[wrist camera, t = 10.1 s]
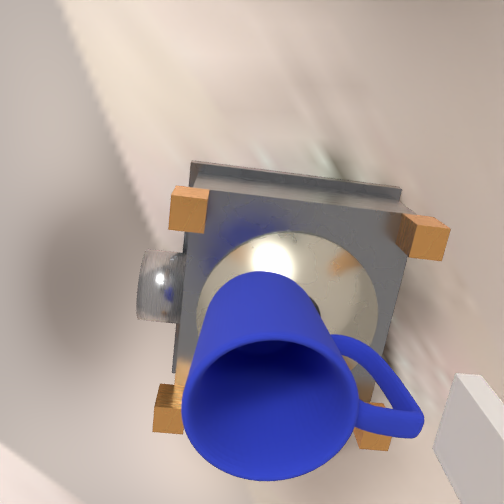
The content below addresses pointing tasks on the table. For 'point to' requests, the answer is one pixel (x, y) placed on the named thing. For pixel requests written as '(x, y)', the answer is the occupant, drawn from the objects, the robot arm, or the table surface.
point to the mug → (281, 384)
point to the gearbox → (284, 260)
